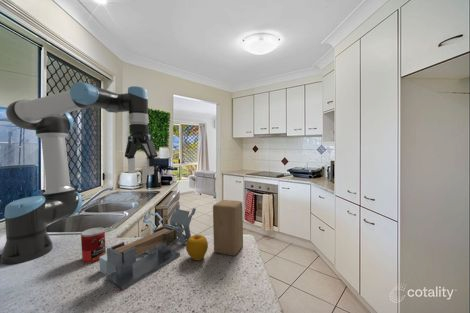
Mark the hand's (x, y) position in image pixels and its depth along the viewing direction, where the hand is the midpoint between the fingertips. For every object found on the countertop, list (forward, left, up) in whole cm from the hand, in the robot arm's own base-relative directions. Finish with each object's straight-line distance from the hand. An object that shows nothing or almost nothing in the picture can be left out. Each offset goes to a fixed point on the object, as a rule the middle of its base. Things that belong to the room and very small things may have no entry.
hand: (140, 173), depth 86 cm
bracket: (+8, +13, -33) cm, 36 cm away
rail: (+14, -8, -26) cm, 30 cm away
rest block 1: (+4, -16, -33) cm, 37 cm away
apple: (+26, +6, -33) cm, 42 cm away
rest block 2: (+4, 0, -33) cm, 33 cm away
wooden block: (+33, +18, -33) cm, 50 cm away
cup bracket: (+14, -8, -33) cm, 36 cm away
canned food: (-10, -15, -33) cm, 38 cm away
